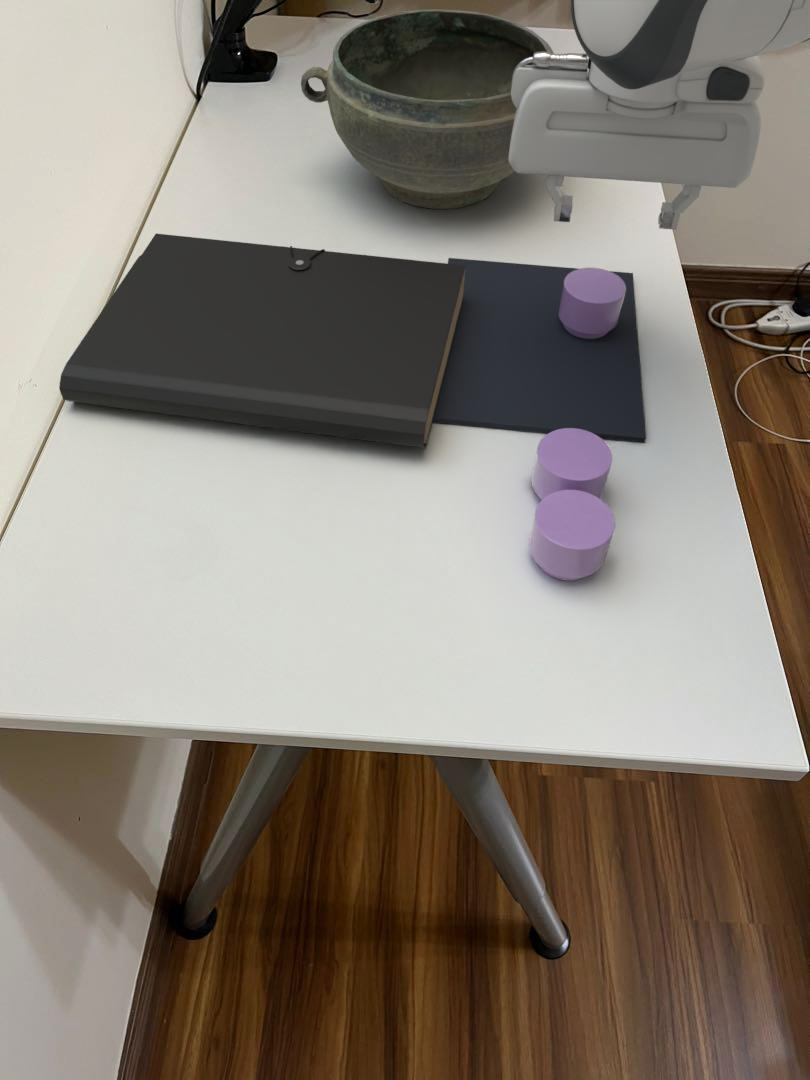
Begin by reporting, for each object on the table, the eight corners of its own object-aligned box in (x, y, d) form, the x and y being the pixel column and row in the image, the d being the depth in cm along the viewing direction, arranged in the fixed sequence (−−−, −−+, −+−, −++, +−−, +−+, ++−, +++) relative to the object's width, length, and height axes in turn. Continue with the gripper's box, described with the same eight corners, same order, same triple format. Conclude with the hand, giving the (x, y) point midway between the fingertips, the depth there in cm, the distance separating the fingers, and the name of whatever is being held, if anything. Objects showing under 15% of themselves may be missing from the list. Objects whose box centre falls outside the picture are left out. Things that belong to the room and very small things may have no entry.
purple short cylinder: (600, 470, 73) (611, 431, 70) (602, 522, 69) (613, 483, 66) (531, 463, 74) (538, 424, 70) (528, 515, 70) (536, 476, 66)
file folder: (466, 261, 85) (424, 424, 70) (464, 295, 88) (423, 459, 73) (155, 229, 89) (53, 377, 74) (164, 263, 92) (68, 412, 77)
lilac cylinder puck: (602, 531, 69) (614, 493, 65) (604, 591, 65) (616, 553, 61) (528, 524, 69) (536, 485, 66) (526, 582, 65) (533, 544, 62)
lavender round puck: (615, 309, 87) (624, 270, 84) (617, 345, 83) (627, 305, 80) (556, 304, 88) (564, 265, 84) (556, 340, 84) (563, 300, 80)
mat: (631, 277, 92) (632, 272, 91) (644, 443, 75) (646, 438, 75) (448, 262, 93) (448, 257, 93) (422, 421, 77) (422, 416, 76)
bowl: (295, 231, 97) (282, 95, 85) (319, 126, 113) (311, 1, 102) (577, 241, 96) (602, 106, 85) (559, 134, 113) (579, 9, 101)
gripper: (512, 66, 65) (497, 232, 76) (786, 81, 63) (731, 249, 74) (516, 35, 69) (501, 197, 80) (774, 49, 67) (723, 212, 78)
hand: (613, 222), depth 77 cm, fingers open, 8 cm apart
